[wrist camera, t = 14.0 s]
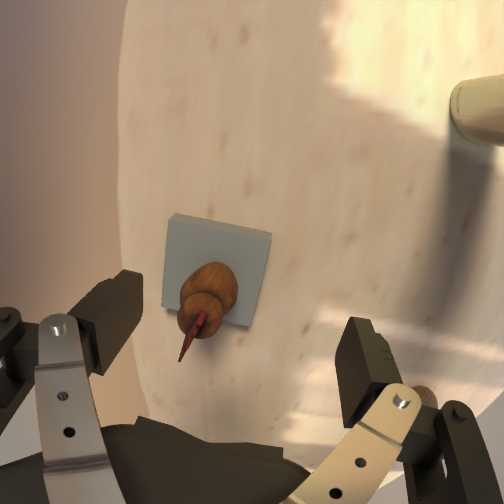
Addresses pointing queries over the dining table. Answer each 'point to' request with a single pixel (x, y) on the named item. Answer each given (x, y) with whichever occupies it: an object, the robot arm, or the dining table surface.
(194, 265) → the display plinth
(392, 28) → the dining table surface
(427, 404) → the vase
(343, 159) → the dining table surface
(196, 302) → the wooden figurine
